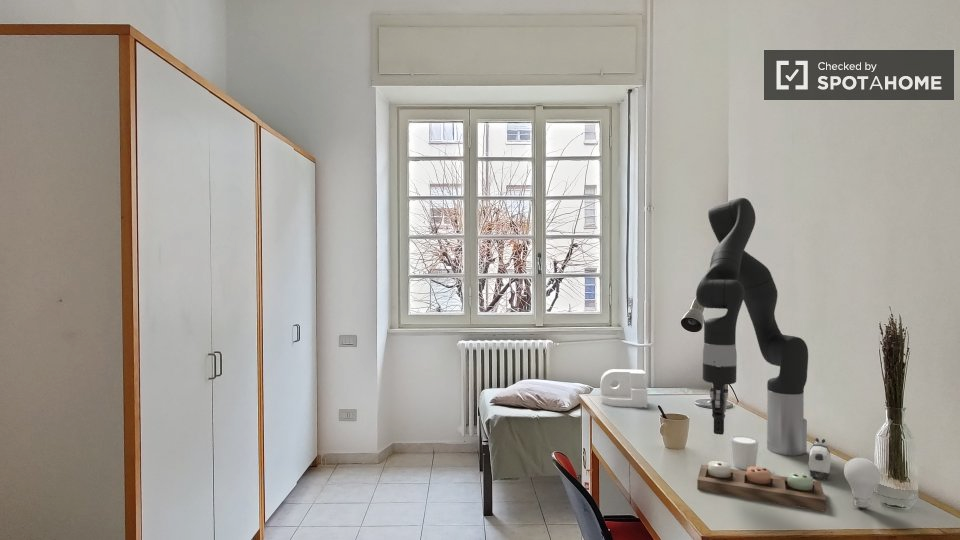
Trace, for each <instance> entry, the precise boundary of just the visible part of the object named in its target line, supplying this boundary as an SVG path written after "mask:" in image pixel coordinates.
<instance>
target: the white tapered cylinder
mask: <svg viewBox="0 0 960 540" xmlns="http://www.w3.org/2000/svg"><path fill="white" fill-rule="evenodd" d="M729 441H730V454H731V466H733V467H735V468H736V469H737V468H738V469H739V470H740V469H741V470H744V471H747V468H748V467H751V466H756V467H757V459H758V451H759V450H758V448H759V440H757V439H755V438H753V437H749V436H742V435H741V436H740V435H739V436H738V435H737V436H731V437H730V438H729Z"/></svg>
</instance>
